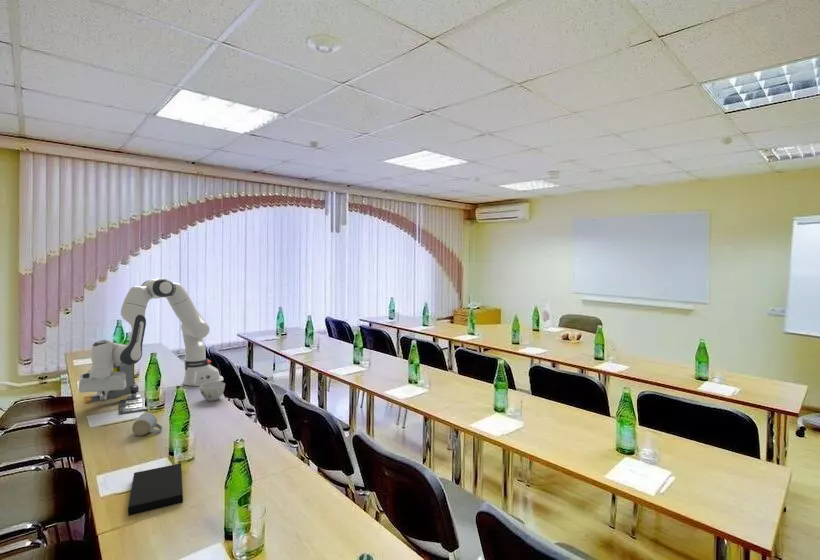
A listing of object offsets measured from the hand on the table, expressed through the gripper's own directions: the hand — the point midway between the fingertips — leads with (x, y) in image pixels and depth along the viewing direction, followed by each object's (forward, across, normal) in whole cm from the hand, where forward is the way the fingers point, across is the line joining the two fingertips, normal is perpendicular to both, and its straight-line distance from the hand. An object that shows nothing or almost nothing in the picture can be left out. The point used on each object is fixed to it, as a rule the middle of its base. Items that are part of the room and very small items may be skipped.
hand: (103, 399), depth 217 cm
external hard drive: (+4, -54, +94) cm, 108 cm away
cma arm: (+1, -2, -6) cm, 6 cm away
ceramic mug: (+4, -34, +41) cm, 53 cm away
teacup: (+4, -52, +1) cm, 52 cm away
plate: (+4, -14, +2) cm, 15 cm away
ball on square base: (+4, -9, -13) cm, 16 cm away
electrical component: (+4, +2, -24) cm, 24 cm away
